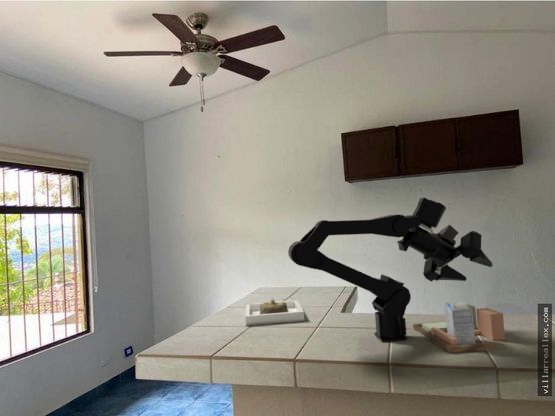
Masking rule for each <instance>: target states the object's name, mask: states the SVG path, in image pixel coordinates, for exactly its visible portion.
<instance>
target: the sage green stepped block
mask: <svg viewBox="0 0 555 416" xmlns="http://www.w3.org/2000/svg"><path fill="white" fill-rule="evenodd" d="M464 304H466V305H467V306H468V307H469V308H470V309H472V313H473V323H474V330H478V323H477V311H476V306H475V305H472V304H470V303H465V302H464ZM425 323H426V322H425ZM421 324H422V323H421ZM431 327H437V328H439V329H440V330H444V329H447V322H445V321H437V323H434V322H427V323H426V324H422V328H423V329H425V330H426V331H432V330H431Z"/></svg>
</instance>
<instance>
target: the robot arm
mask: <svg viewBox="0 0 555 416" xmlns="http://www.w3.org/2000/svg"><path fill="white" fill-rule="evenodd" d="M446 209H447V207H446V205H445V204H442V202H441V203H440V202H438V201H434V200H433V199H428V198H426V197H420V198H419V200H418V203H417V205H416V207H415V209H414V211H413V214H411V215H403V214H387V215H383V216H379V217H374V218H371V219H353V220H352V219H349V220H327V219H325V220H319V221H317V222H316V223H315V225H314V226H313V227H312V228H311V229H309V231H308V232H307V233H306V234H305V235H304V236H302V238H301V239H300V240H297V241H294V242H292V244H291V245H290V246H288V247H289V248H288V257H289V259H290V260H291V261H292V262H293V263H294V264H296V265H297V266H300V267H305V268H309V269H312V270H313V269H314V270H317V271H322V272H325V273H327V274H330V275H332V276H334V277H336V278H338V279H341V280H343V281H346V282H348V283H350V284H351V285H354V286H357V287H358V288H361V289H363V290H365V291H367V292H370V293H371V294H372V295H373V296H375V298H373V300H372V301H371V305H372V307H373V310H375V311H374V316H375V318H374V319H375V332H374V336H376V337H377V338H378V339H379V340H380V341H381V342H393V341H402V340H403V341H405V340H408V337H407V336H406V335H407V326H406V325H407V322H406V318H405V317H404V315H405V313H406V310H407V306H409V304H410V302H411V298H412V297H411V293H410V290H409V288H407V287H406V286H404V285H405V283H404V282H401V281H400V280H399V281H398V280H396V279H393V278H392V277H391V276H388V275H385V274H381V275H380V278H377V277H373V276H370V275H368V274H366V273H364V272H362V271H360V270H357V269H355V268H353V267H351V266H348V265H346V264H344V263H341V262H339V261H337V260H335V259H333V258H330V257H328V256H327V255H325V254H324V253H323V252H322V251H320V250H319V249H320V248H321V246H322V245H323V243H324V242H325V241H326V239H327V238H328V237H329V236H347V235H349V236H350V235H376V236H383V237H389V238H390V237H391V238H402V239H400V240H397V245H398V249H399V251H401V252H408V250H409V248H411V249H413V250H415V251H416V252H418V253H420V254H421V255H423V259H424V260H425V261H424V266H423V273H422V274H423V276H424V278H425V279H426V280H428V281H429V282H434V281H436V282H437V281H456V282H457V281H461V282H466V281H467V277H466V276H465V275H464V274H462V273H461V272H459V271H458V270H456V269H455V268H453V267H451V266H449V264H450V263H451V262H453V260H454V259H457V258H458V257H459V256H462V257H463V258H465V259H469V262H472V263H476V264H479V265H482V266H485V267H489V268H492V267H493V262H492V260H491V259H489V257H488V256H487V255H486V254H485V253H484V251H483V249H482V237H483V236H482V234H481V233H479V232H477V231H475V230H471V231H469V232H467V233H466V234H465V235H462V237H460V242H459V243H460V244H459V245H458V246H455V245H456V243H457V242H456V241H457V240H455V239H456V237H457V235H458V234H460V233H459V231H458V230H456V229H455V228H454V226H452V224H447V226H445V227H444V228H442V229H441V230H440V231H439V232H437V233H436V232H433V233H431V232H429V231H431V229H433V228H434V229H436V228H438V225H439V224H440V221H441V220H442V218H443V215H444V214H445V211H446ZM428 230H429V231H428Z"/></svg>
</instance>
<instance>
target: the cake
mask: <svg viewBox="0 0 555 416" xmlns="http://www.w3.org/2000/svg"><path fill="white" fill-rule="evenodd" d="M270 302H271V303H270ZM275 302H276V301H275V299H274V298H271V300H270V301H266V302H262V303H263V304H261V305H260V314H272V313H284V312H289V311H288V309H287V305H286V303H285V302H281V301H279V302H280V303H278V304H277V303H275Z"/></svg>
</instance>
